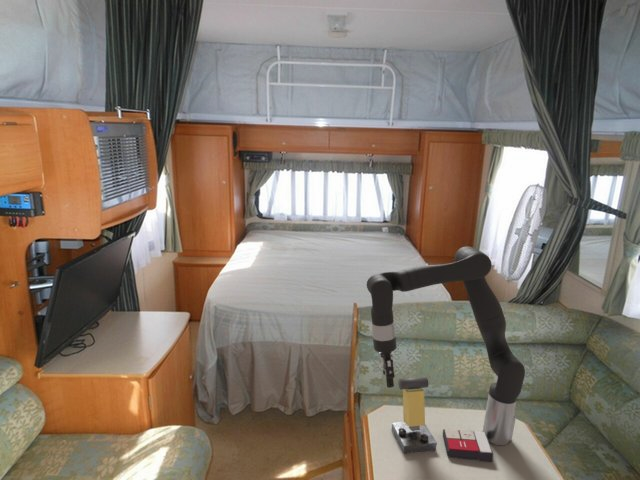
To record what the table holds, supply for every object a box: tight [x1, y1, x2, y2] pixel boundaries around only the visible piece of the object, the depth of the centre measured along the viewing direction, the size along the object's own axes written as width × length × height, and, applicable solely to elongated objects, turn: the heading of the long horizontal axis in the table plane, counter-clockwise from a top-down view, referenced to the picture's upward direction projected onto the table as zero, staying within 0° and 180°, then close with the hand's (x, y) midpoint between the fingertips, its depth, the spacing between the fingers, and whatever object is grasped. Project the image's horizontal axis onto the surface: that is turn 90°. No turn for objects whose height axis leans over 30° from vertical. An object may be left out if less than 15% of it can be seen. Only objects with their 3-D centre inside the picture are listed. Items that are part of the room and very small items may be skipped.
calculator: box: [442, 428, 494, 463], centre depth 150 cm, size 11×4×15 cm
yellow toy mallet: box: [397, 376, 429, 431], centre depth 152 cm, size 10×5×18 cm, turn 101°
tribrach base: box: [391, 421, 438, 454], centre depth 153 cm, size 12×12×4 cm
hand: (388, 380), depth 142 cm, fingers open, 8 cm apart
